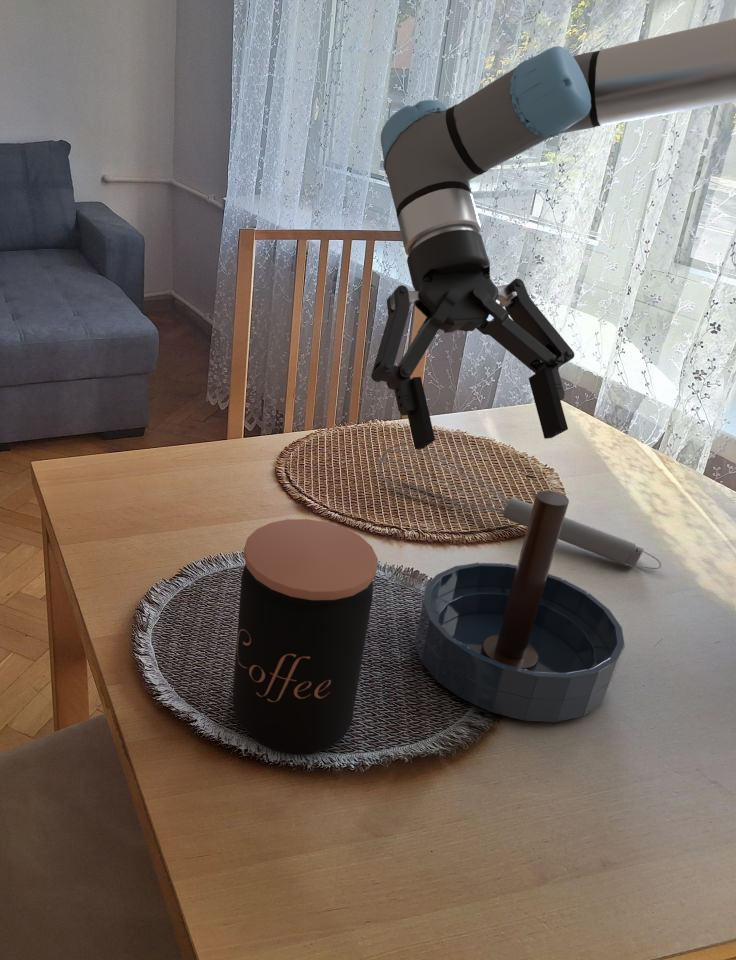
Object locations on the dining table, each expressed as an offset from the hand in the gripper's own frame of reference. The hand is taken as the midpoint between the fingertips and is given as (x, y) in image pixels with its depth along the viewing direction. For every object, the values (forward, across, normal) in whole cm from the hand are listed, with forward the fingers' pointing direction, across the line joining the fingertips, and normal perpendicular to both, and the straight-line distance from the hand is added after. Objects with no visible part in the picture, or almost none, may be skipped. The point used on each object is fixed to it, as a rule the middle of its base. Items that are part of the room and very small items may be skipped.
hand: (491, 439), depth 83 cm
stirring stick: (+20, 0, -6) cm, 21 cm away
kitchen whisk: (+4, -14, -24) cm, 28 cm away
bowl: (+21, 0, -6) cm, 22 cm away
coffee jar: (+24, +23, -4) cm, 33 cm away
